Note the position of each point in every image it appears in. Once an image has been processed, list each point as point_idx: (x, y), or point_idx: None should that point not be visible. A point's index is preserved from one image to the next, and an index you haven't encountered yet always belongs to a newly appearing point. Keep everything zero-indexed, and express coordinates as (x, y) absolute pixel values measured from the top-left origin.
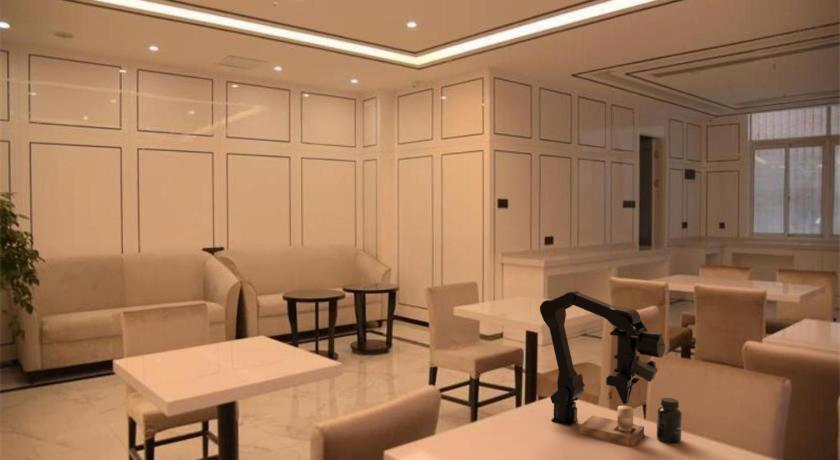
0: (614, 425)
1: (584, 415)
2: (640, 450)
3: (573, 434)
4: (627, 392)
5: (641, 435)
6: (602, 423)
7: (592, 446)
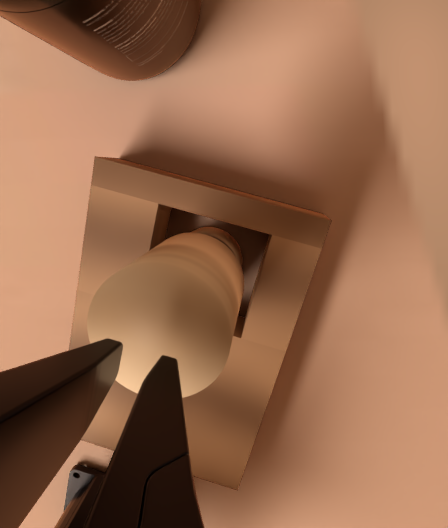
0: None
1: None
2: (372, 173)
3: (261, 478)
4: (198, 507)
5: (166, 172)
6: None
7: (389, 406)
